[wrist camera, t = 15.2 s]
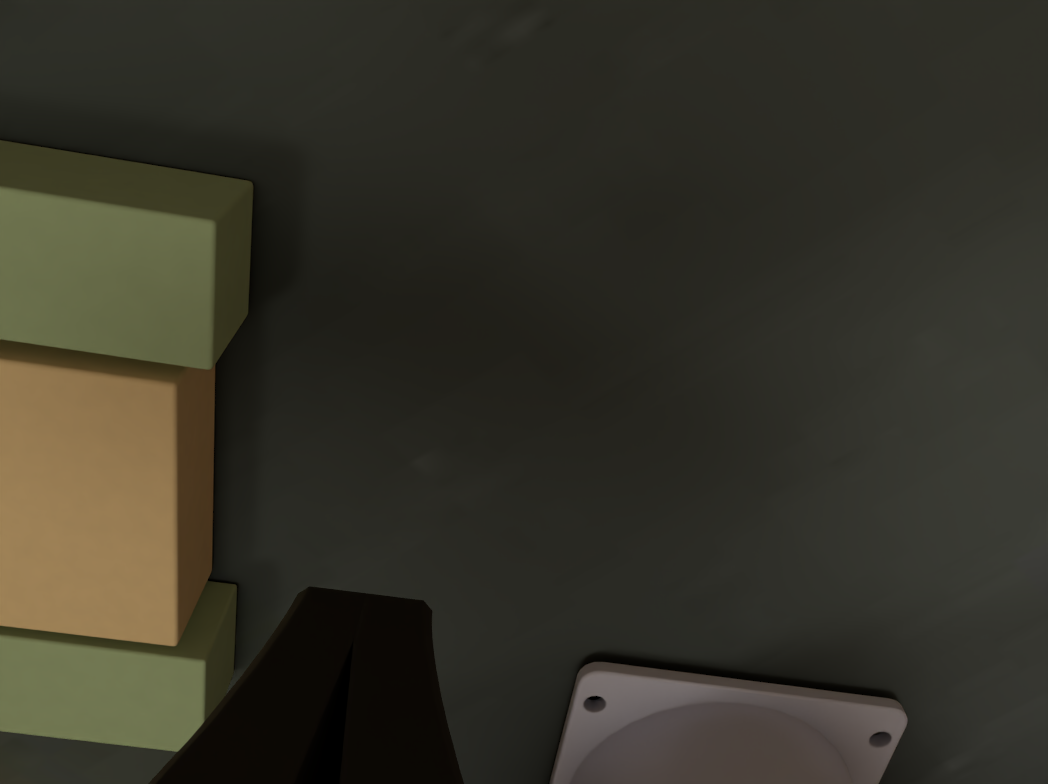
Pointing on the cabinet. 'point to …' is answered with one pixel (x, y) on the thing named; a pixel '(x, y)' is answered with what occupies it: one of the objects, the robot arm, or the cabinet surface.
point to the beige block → (103, 493)
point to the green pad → (131, 332)
